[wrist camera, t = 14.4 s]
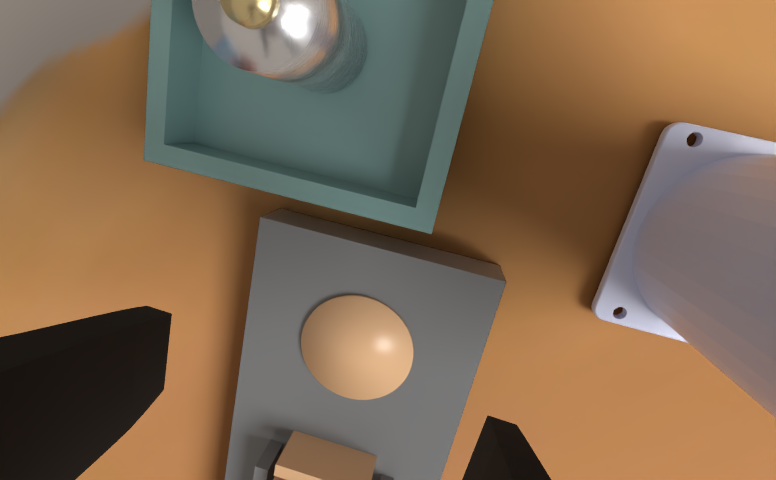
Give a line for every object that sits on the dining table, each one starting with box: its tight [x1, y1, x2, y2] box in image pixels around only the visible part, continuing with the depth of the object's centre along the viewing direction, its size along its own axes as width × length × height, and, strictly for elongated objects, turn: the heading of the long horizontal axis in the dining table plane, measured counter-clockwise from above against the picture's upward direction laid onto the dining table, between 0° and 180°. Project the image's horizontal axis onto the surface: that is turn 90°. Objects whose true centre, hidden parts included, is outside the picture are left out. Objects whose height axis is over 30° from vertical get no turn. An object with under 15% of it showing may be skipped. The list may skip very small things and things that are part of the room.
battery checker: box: [225, 208, 506, 480], centre depth 18 cm, size 10×18×4 cm, turn 167°
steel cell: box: [192, 0, 368, 94], centre depth 12 cm, size 3×3×6 cm
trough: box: [144, 0, 494, 234], centre depth 15 cm, size 12×12×2 cm
